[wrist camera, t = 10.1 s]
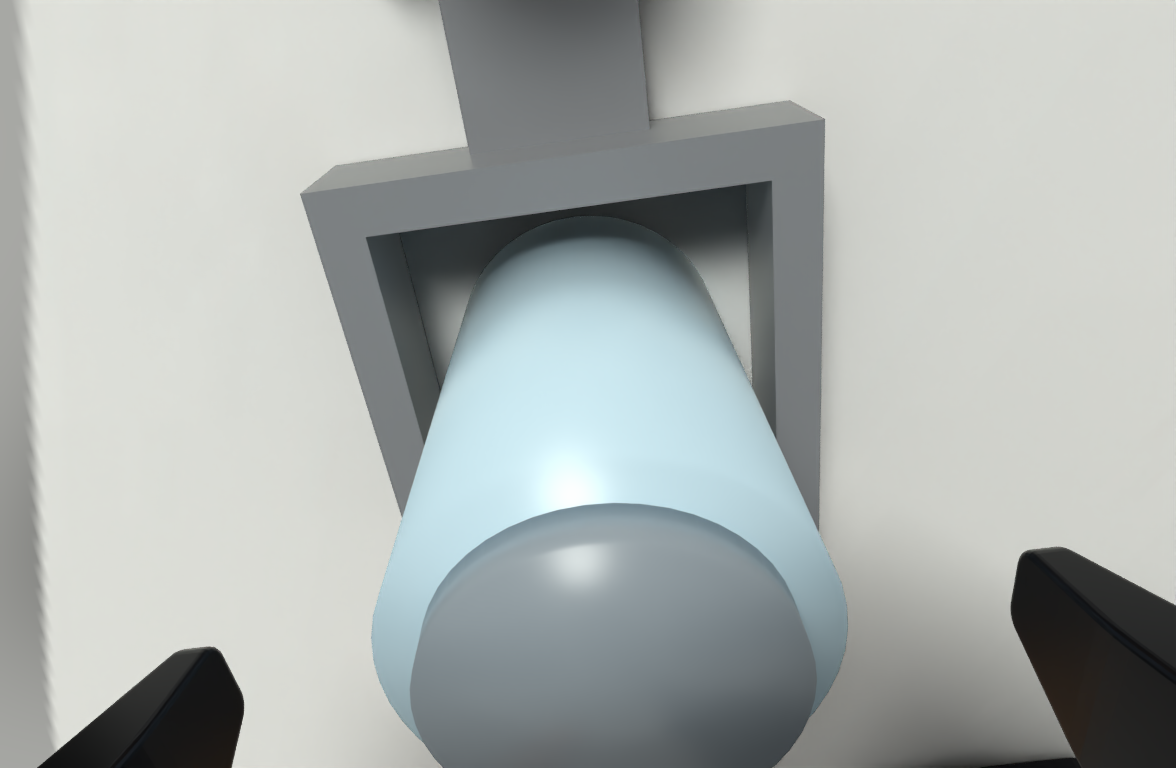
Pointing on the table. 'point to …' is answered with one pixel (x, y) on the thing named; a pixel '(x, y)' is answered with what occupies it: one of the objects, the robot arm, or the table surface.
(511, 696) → the cylinder
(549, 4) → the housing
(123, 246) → the table surface
